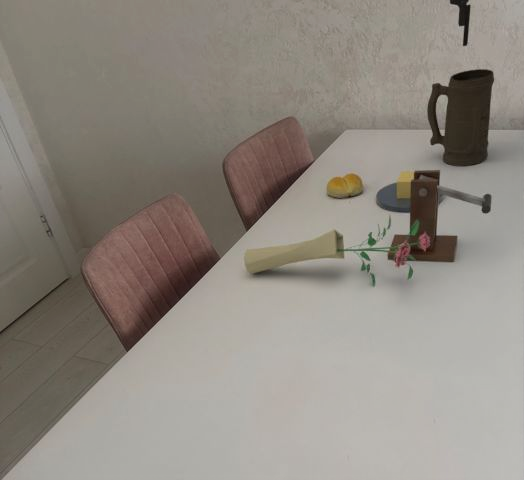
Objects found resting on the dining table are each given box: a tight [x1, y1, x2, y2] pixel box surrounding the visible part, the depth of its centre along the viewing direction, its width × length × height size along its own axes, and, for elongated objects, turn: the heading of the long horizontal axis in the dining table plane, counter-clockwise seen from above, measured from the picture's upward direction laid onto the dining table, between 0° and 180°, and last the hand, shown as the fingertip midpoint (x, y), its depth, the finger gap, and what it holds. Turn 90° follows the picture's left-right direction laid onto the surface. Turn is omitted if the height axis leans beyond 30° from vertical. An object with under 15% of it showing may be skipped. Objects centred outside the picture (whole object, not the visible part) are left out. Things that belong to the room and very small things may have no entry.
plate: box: [375, 182, 445, 213], centre depth 115 cm, size 15×15×1 cm
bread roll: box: [325, 173, 364, 199], centre depth 123 cm, size 8×9×4 cm
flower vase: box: [243, 215, 430, 287], centre depth 92 cm, size 12×12×35 cm
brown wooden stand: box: [387, 169, 459, 263], centre depth 92 cm, size 12×8×15 cm, turn 69°
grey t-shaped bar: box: [419, 175, 493, 215], centre depth 88 cm, size 13×5×2 cm, turn 69°
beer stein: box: [426, 68, 495, 167], centre depth 123 cm, size 15×11×20 cm
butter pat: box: [396, 170, 416, 199], centre depth 114 cm, size 6×4×4 cm
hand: (502, 40), depth 97 cm, fingers open, 13 cm apart
